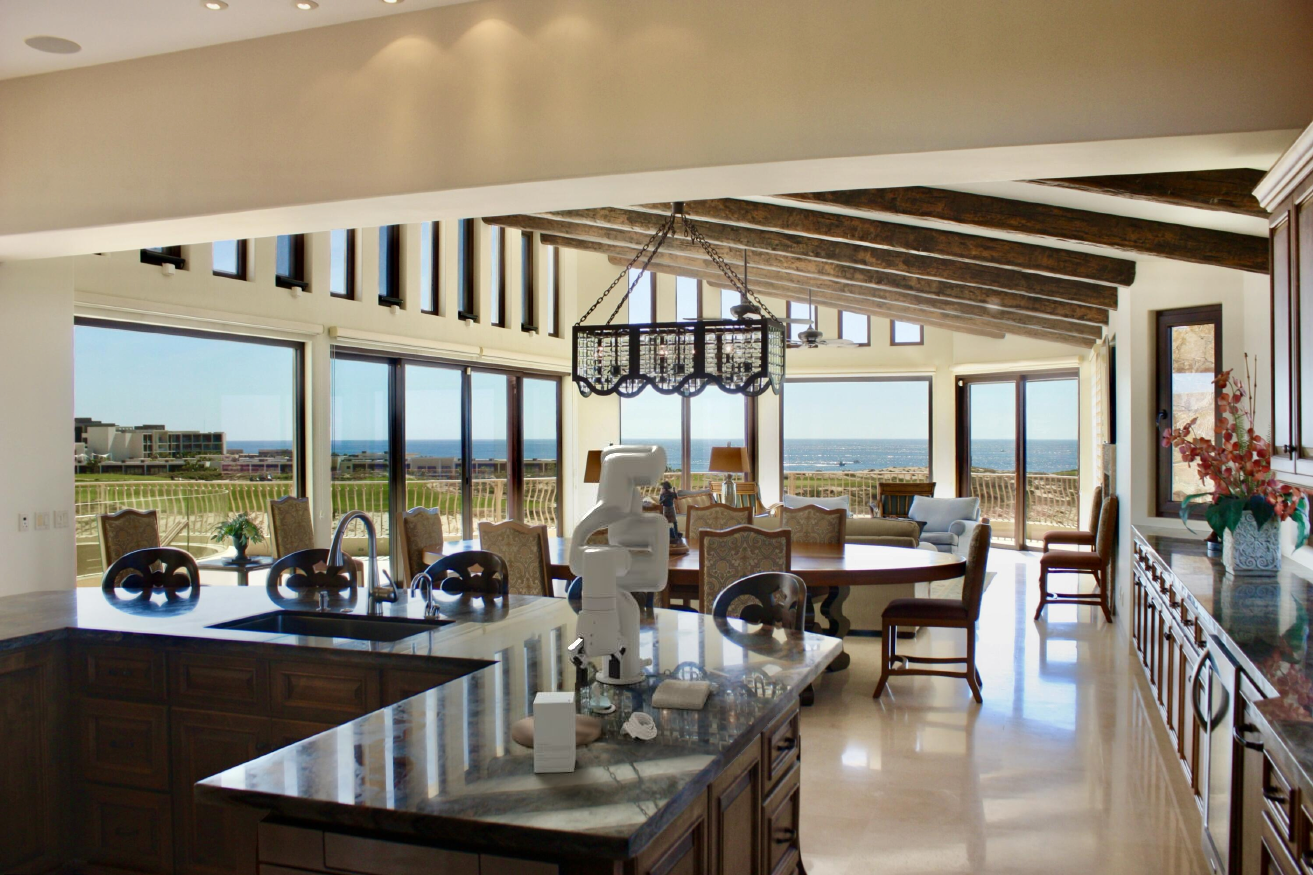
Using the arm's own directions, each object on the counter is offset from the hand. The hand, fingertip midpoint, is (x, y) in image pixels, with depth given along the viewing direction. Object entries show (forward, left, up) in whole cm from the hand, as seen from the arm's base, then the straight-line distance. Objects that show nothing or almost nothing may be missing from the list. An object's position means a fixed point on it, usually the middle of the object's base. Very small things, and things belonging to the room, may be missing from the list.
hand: (598, 681), depth 195 cm
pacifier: (-1, 0, -7) cm, 7 cm away
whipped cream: (+5, +18, -7) cm, 20 cm away
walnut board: (+16, +6, -6) cm, 19 cm away
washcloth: (-21, +6, -7) cm, 23 cm away
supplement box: (+28, +20, -7) cm, 35 cm away
